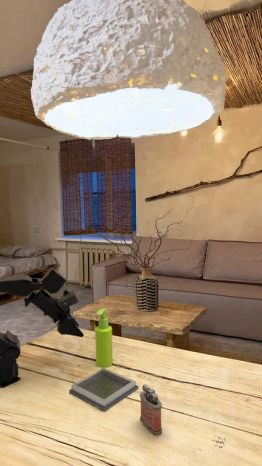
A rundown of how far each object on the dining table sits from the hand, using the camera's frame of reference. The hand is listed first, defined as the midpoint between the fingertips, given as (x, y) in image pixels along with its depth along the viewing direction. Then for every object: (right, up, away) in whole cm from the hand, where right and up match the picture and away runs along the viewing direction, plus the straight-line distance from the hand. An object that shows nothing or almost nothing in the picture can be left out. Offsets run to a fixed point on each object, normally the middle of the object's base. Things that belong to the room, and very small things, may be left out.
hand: (80, 331), depth 119 cm
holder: (+9, -15, -13) cm, 22 cm away
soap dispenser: (+8, -13, +4) cm, 16 cm away
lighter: (+23, -16, -29) cm, 41 cm away
